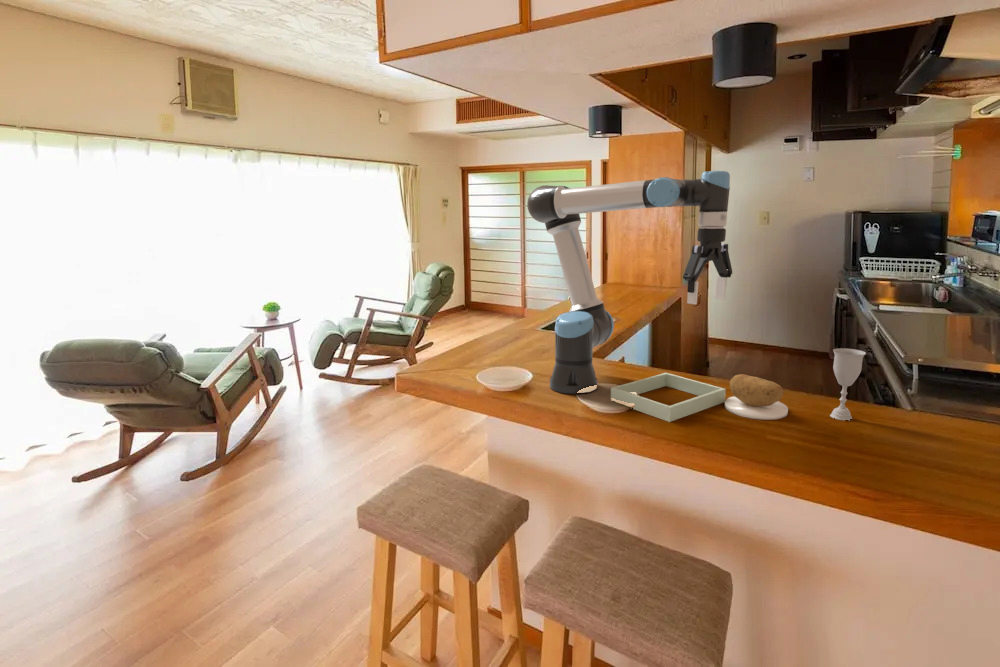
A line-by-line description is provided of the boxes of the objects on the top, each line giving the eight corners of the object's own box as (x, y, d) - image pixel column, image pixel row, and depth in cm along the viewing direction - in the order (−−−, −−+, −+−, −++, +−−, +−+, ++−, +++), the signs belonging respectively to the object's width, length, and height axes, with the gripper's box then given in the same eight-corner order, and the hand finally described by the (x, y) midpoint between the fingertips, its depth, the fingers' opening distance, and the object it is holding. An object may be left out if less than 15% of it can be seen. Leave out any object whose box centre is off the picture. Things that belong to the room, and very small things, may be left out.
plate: (712, 407, 155) (713, 403, 155) (744, 395, 164) (745, 392, 164) (767, 424, 142) (768, 420, 142) (799, 410, 151) (799, 406, 151)
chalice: (853, 413, 148) (861, 349, 144) (860, 423, 142) (869, 355, 138) (822, 411, 151) (830, 347, 147) (828, 420, 144) (836, 353, 140)
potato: (772, 416, 144) (775, 387, 143) (721, 402, 155) (723, 375, 153) (788, 407, 151) (791, 379, 149) (738, 395, 161) (740, 368, 159)
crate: (610, 400, 162) (610, 388, 161) (665, 384, 176) (665, 372, 175) (669, 422, 145) (670, 407, 144) (724, 402, 159) (725, 388, 158)
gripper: (696, 229, 146) (690, 307, 151) (749, 226, 160) (742, 298, 165) (672, 228, 152) (668, 304, 157) (725, 226, 166) (720, 295, 171)
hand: (706, 301), depth 161 cm, fingers open, 13 cm apart
